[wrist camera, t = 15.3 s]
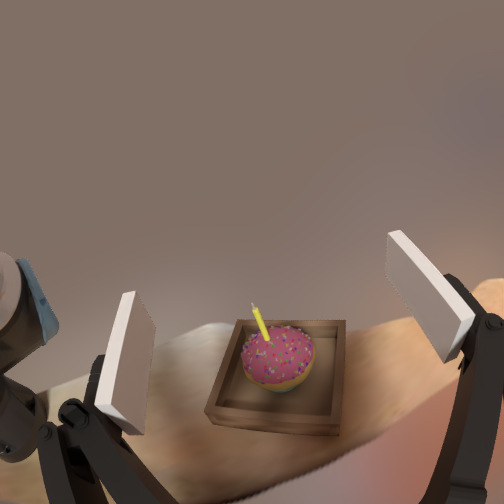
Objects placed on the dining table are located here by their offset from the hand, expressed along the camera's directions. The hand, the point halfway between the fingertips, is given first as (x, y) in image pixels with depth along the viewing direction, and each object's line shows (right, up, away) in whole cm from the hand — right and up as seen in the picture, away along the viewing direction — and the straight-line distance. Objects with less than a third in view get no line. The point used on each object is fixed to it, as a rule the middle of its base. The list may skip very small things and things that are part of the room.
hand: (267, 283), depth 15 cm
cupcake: (+3, -14, +21) cm, 26 cm away
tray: (+3, -15, +22) cm, 26 cm away
